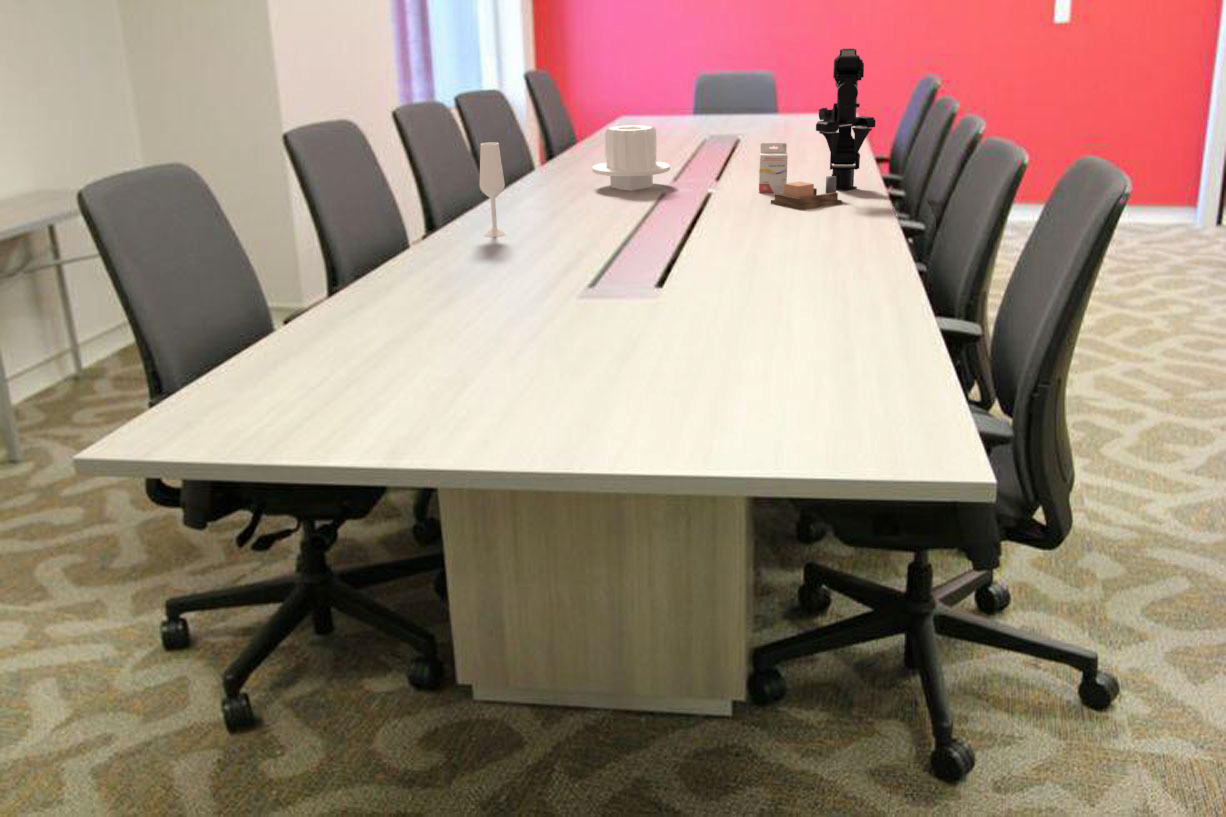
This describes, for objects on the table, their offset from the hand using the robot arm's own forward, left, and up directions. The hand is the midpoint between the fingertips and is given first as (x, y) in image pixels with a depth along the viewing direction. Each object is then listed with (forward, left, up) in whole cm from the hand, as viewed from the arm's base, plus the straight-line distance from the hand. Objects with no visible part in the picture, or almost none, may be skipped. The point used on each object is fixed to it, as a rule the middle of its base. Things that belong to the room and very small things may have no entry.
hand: (844, 153), depth 349 cm
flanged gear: (+38, -58, -13) cm, 70 cm away
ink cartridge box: (+9, -22, -13) cm, 27 cm away
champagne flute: (+107, -20, -13) cm, 110 cm away
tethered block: (+12, 0, -13) cm, 18 cm away
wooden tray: (+14, 0, -13) cm, 19 cm away
